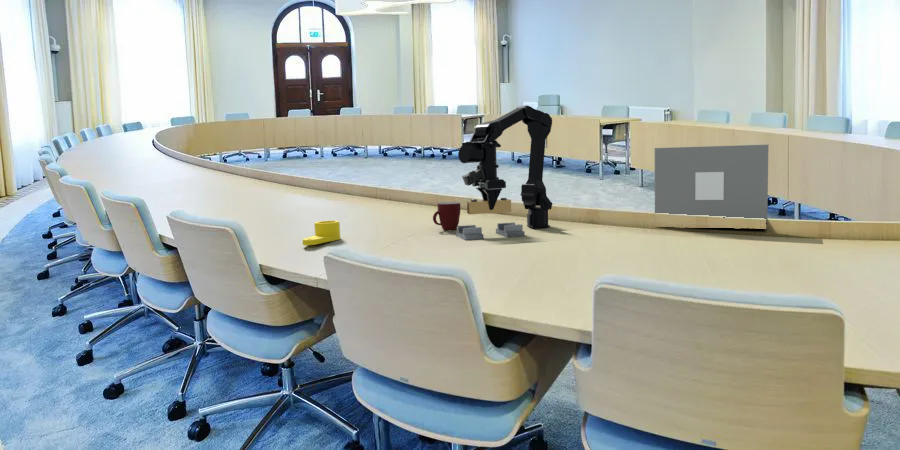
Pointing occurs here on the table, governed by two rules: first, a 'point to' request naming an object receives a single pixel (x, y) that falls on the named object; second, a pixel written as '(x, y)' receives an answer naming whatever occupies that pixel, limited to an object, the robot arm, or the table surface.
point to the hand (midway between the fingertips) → (489, 209)
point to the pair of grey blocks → (502, 228)
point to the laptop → (712, 180)
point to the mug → (448, 215)
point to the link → (483, 206)
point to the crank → (324, 233)
